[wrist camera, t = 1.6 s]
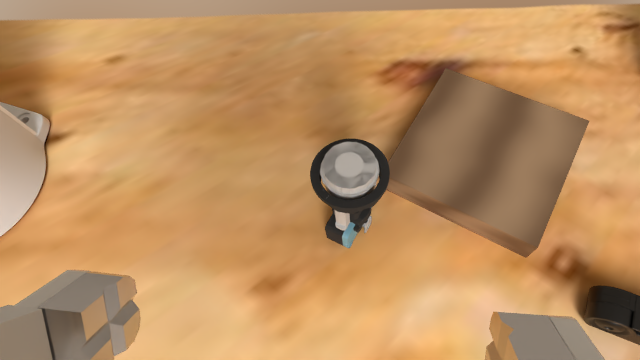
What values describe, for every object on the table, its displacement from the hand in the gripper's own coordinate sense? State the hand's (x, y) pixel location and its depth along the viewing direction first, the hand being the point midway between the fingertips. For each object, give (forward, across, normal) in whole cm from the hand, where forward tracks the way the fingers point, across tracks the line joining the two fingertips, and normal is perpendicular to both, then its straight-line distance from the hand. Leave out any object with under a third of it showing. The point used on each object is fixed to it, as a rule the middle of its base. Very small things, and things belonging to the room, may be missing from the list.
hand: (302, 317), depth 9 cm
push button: (+26, 0, +8) cm, 27 cm away
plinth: (+30, -10, +4) cm, 32 cm away
